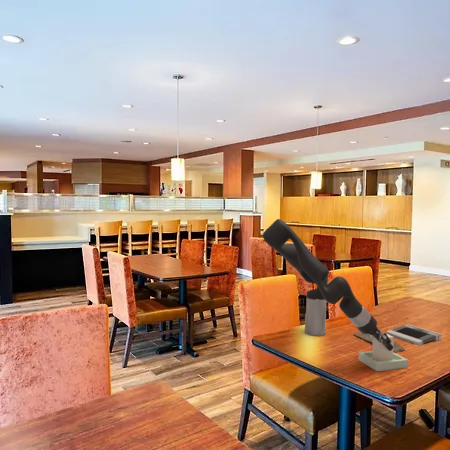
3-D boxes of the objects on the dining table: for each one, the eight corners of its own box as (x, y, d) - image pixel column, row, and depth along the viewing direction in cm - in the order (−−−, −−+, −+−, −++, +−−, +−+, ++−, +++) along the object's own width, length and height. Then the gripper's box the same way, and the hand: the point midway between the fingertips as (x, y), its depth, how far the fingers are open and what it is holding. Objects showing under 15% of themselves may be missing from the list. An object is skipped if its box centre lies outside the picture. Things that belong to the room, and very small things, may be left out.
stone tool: (351, 335, 190) (390, 354, 166) (351, 329, 189) (390, 348, 166) (370, 333, 193) (410, 352, 170) (370, 327, 193) (411, 345, 170)
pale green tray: (358, 359, 159) (358, 352, 159) (387, 356, 163) (387, 349, 163) (376, 371, 148) (377, 363, 148) (407, 367, 152) (407, 359, 152)
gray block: (371, 359, 157) (372, 335, 156) (385, 358, 158) (386, 333, 158) (378, 363, 153) (379, 338, 152) (392, 362, 155) (393, 337, 154)
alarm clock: (441, 333, 184) (419, 336, 176) (440, 343, 184) (418, 346, 176) (408, 323, 199) (386, 325, 191) (407, 333, 199) (385, 335, 191)
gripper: (344, 320, 158) (369, 347, 162) (367, 331, 144) (393, 361, 148) (356, 306, 159) (381, 333, 163) (380, 316, 146) (406, 345, 150)
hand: (387, 346), depth 156 cm, fingers open, 4 cm apart
